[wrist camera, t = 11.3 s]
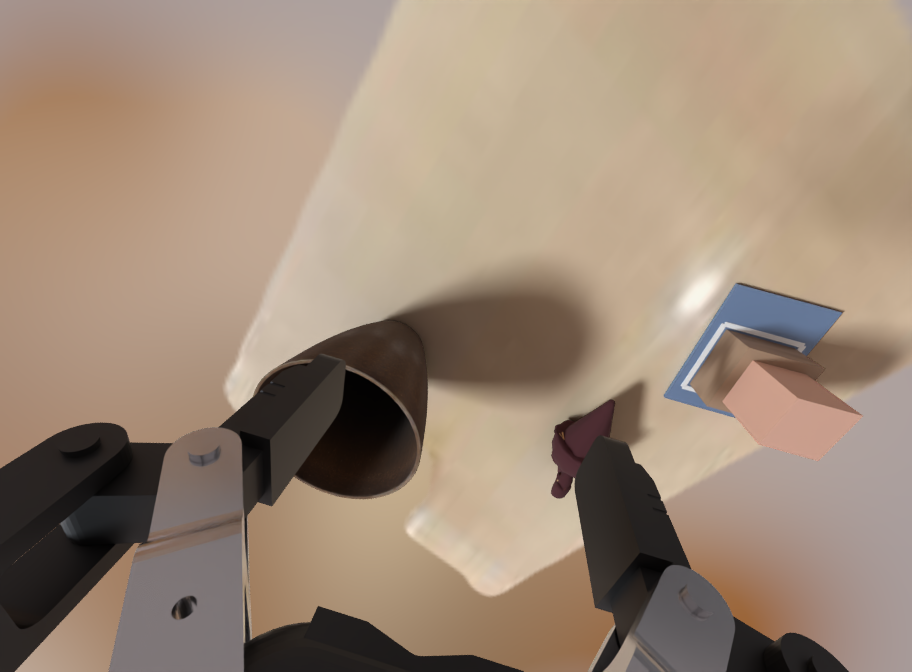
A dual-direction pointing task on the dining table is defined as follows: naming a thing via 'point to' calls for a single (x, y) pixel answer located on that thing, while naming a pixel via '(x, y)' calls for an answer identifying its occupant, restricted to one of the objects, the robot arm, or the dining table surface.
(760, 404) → the terracotta block
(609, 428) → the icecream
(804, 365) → the walnut base
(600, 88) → the dining table surface
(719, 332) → the blueprint mat
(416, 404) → the plant pot
